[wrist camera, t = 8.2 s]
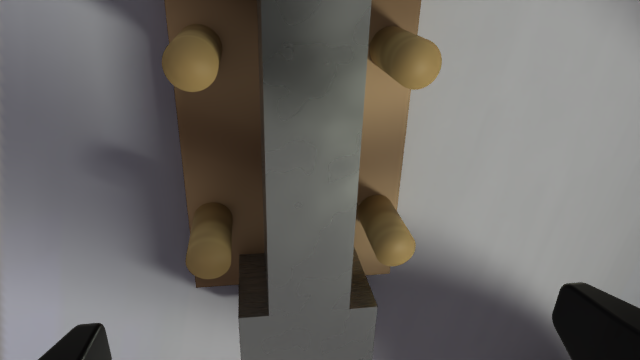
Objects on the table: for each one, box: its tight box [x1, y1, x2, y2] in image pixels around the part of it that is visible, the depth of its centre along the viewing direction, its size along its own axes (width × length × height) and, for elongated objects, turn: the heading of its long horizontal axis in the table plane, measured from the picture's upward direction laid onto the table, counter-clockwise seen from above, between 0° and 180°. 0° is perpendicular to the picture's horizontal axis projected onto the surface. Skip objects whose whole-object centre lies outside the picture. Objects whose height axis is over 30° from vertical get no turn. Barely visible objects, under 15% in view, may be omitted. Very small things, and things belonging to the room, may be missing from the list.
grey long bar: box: [239, 0, 378, 360], centre depth 16 cm, size 19×5×4 cm, turn 178°
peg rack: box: [162, 0, 442, 288], centre depth 17 cm, size 14×9×4 cm, turn 178°
